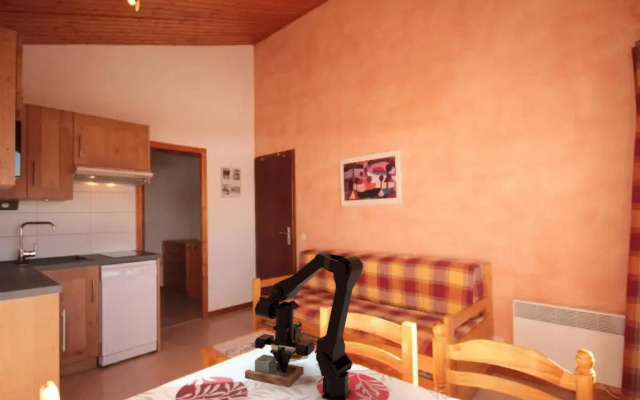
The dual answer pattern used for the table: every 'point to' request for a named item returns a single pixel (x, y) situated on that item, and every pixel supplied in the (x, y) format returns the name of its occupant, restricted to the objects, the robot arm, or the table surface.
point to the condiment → (295, 356)
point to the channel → (276, 379)
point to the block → (266, 364)
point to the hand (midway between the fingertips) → (284, 372)
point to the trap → (286, 374)
